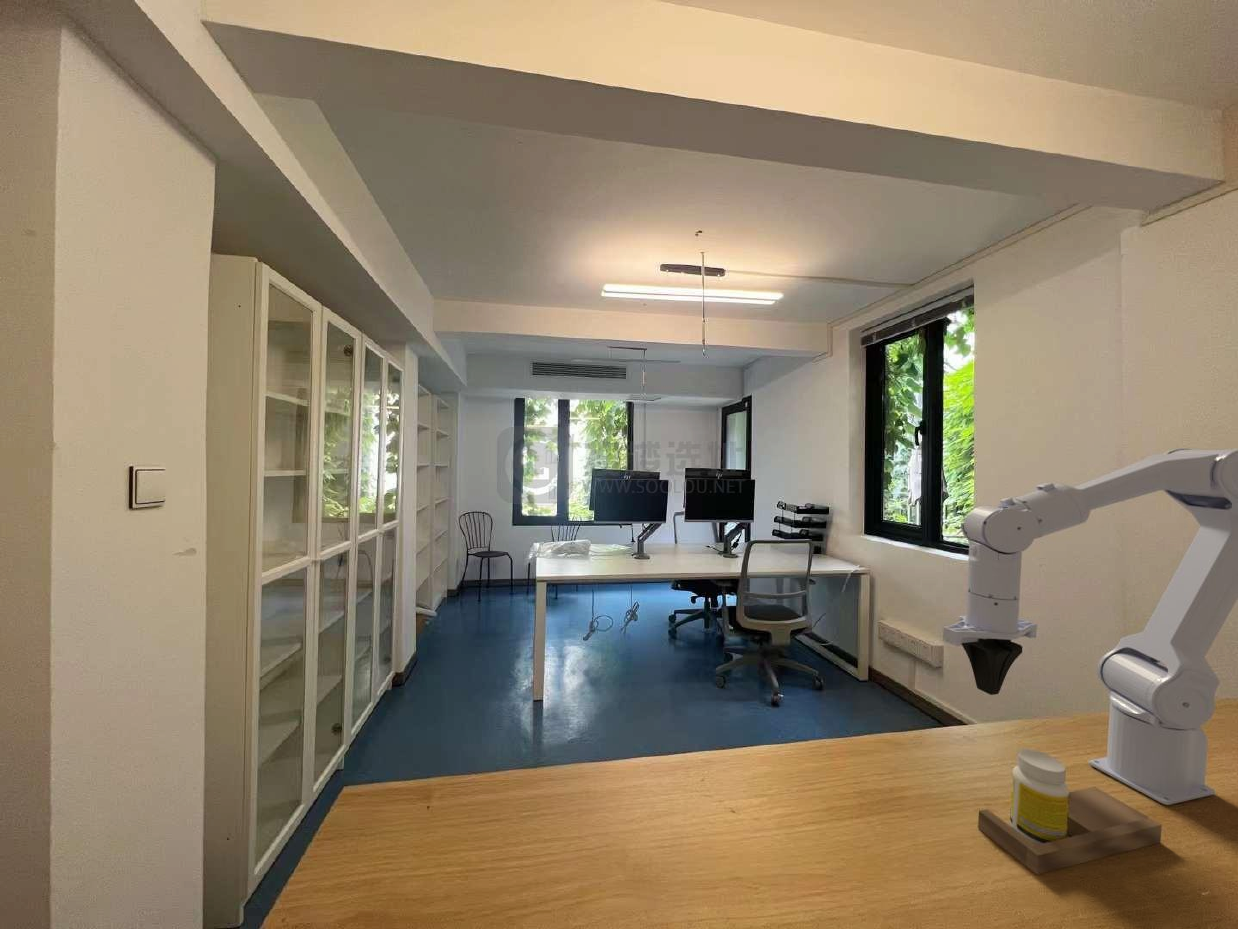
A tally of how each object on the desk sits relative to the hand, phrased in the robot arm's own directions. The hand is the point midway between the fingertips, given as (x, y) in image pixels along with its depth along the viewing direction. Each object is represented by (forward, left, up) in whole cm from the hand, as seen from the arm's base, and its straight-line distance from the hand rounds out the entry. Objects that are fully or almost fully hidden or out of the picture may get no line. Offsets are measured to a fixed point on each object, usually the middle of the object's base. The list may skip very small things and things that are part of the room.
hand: (987, 691), depth 66 cm
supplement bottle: (+8, +12, -10) cm, 17 cm away
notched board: (+4, +13, -9) cm, 16 cm away
